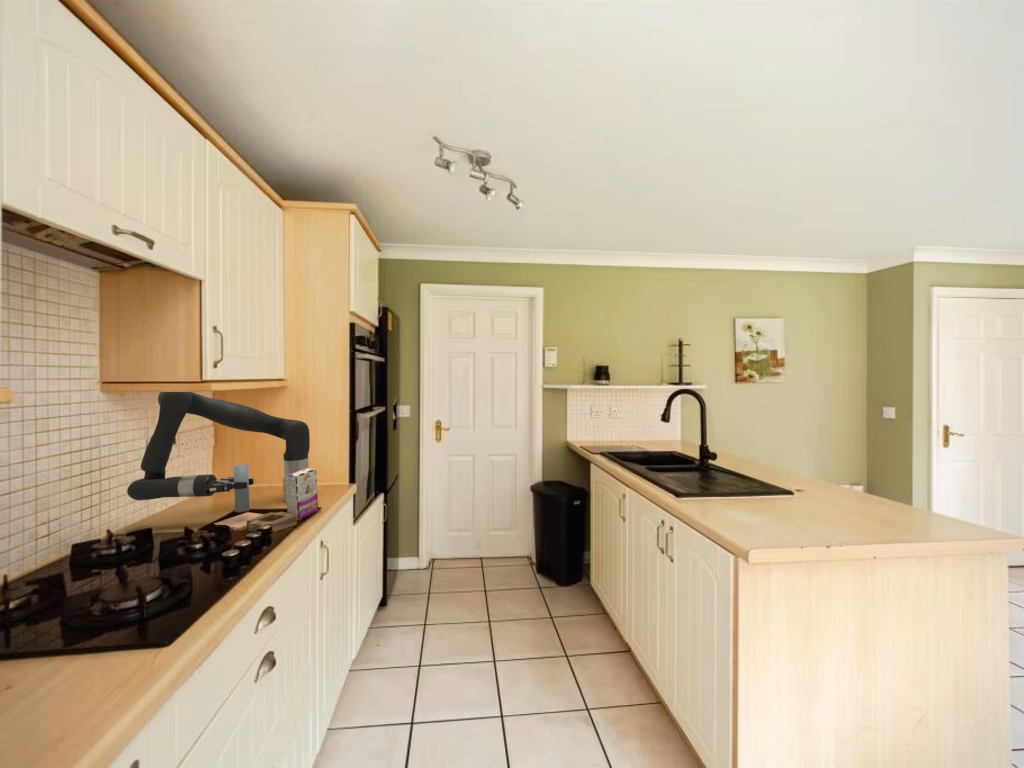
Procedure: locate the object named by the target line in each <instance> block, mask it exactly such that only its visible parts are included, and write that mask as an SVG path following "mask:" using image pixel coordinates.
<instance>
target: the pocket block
mask: <svg viewBox="0 0 1024 768" xmlns="http://www.w3.org/2000/svg"><path fill="white" fill-rule="evenodd" d="M297 524H298V520H297V516H296V515H294V513H288V512H286V511H285V512H284V511H279V512H278V511H277V512H272V511H270V512H268V513H264V515H261V516H259V517H256V518H253V519H250V520H247V528H246V530H248V532H249V531H253V530H256V529H258V528H260V527H262V526H265V525H269V526H271V527H272V530H273V531H274V532H276V531H279V530H281V531H283V530H282V529H284V530H286V529H288V527H289V528H291V527H293V526H295V525H297ZM285 528H286V529H285ZM279 532H280V531H279ZM276 533H277V532H276Z"/></svg>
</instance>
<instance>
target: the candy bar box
mask: <svg viewBox="0 0 1024 768" xmlns="http://www.w3.org/2000/svg"><path fill="white" fill-rule="evenodd" d="M285 480H286V495H287V502H286V509H287V510H286V511H287V513H294V515H296V516H297V521H301V520H303V519H305V518H307V517H309V516H311V515H312V514H315V513H317V512H319V501H318V485H317V482H318V481H317V469H316V468H310V467H309V469H308V468H306V469H303V470H300V471H297V472H294V473H291V474H289V475H286V476H285Z"/></svg>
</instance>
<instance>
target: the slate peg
mask: <svg viewBox="0 0 1024 768" xmlns="http://www.w3.org/2000/svg"><path fill="white" fill-rule="evenodd" d="M233 477H234V482H247V488H245V489H235V490H233V491H234V512H235V513H246V512H249V511H250V485H249V479H250V478H249V477H250V474H249V464H247V463H246V464H245V463H244V464H236V465H233Z"/></svg>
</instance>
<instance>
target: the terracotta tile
mask: <svg viewBox="0 0 1024 768" xmlns="http://www.w3.org/2000/svg"><path fill="white" fill-rule="evenodd" d="M264 514H265V513H264ZM264 514H263V513H256V512H249V511H246V512H243V513H241V514H238V515H236V516H233V517H229V518H227V519H224V520H223V519H222V520H220V521H218V522H214V523H213V524H215V525H227V526H229V527H230V528H231V529H233V530H232V531H237V530H239V531H238V532H240V531H243V530H247V520H250V519H253V518H256V517H259V516H261V515H264ZM231 529H230V530H231Z"/></svg>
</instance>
